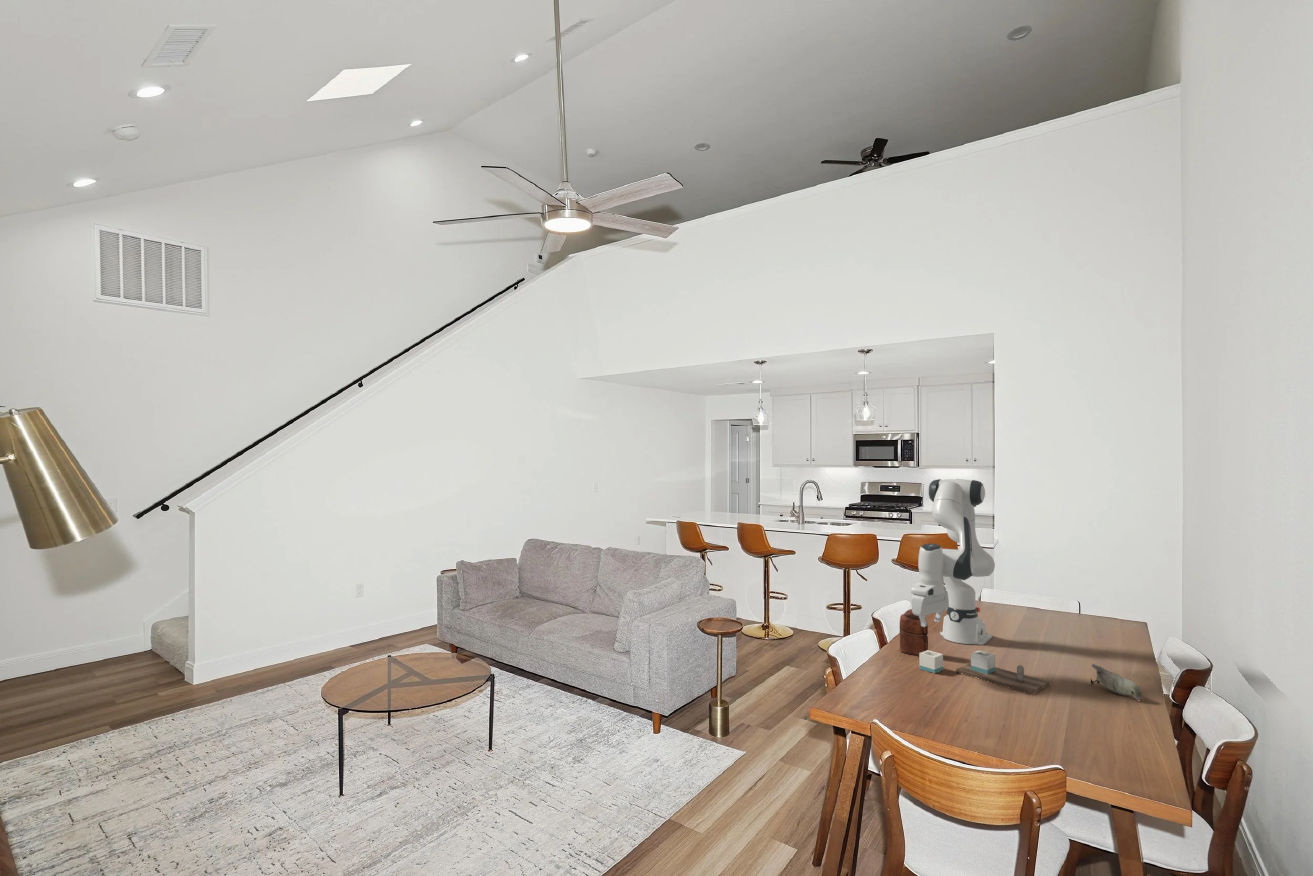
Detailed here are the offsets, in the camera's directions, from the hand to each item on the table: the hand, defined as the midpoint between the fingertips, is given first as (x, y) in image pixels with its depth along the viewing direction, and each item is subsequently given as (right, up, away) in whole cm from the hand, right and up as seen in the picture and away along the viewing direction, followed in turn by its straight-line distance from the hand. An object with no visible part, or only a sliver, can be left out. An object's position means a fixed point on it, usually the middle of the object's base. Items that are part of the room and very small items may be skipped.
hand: (930, 624), depth 234 cm
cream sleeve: (0, -17, 0) cm, 17 cm away
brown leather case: (+1, -18, +18) cm, 25 cm away
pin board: (+22, -17, -9) cm, 29 cm away
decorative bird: (+54, -17, -22) cm, 61 cm away
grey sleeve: (+18, -16, -4) cm, 24 cm away
